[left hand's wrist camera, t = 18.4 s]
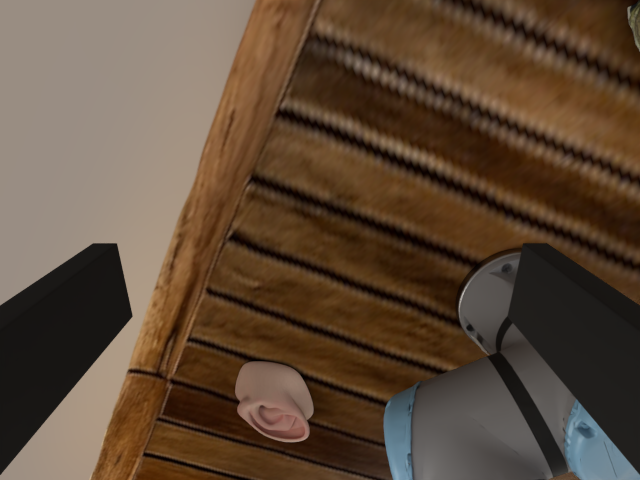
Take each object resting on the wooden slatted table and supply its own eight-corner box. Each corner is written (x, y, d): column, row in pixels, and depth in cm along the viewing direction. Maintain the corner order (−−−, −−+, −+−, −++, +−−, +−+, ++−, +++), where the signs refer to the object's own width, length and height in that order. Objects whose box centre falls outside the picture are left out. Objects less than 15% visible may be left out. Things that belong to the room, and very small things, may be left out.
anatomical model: (221, 382, 52) (303, 374, 51) (227, 363, 56) (304, 355, 55) (241, 451, 57) (316, 444, 56) (245, 429, 60) (316, 422, 60)
